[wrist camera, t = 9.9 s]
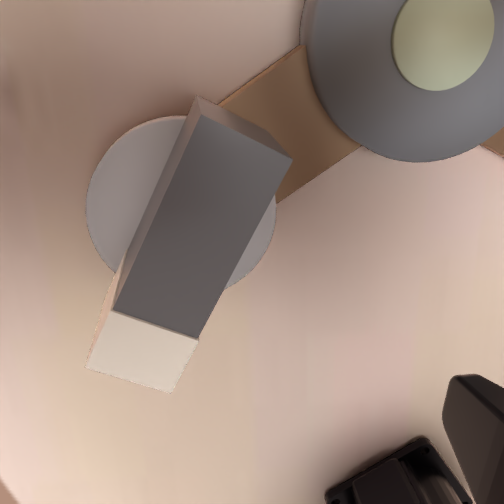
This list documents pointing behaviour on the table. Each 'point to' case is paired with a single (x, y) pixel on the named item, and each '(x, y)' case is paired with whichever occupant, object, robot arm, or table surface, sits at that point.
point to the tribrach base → (382, 84)
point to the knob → (177, 233)
